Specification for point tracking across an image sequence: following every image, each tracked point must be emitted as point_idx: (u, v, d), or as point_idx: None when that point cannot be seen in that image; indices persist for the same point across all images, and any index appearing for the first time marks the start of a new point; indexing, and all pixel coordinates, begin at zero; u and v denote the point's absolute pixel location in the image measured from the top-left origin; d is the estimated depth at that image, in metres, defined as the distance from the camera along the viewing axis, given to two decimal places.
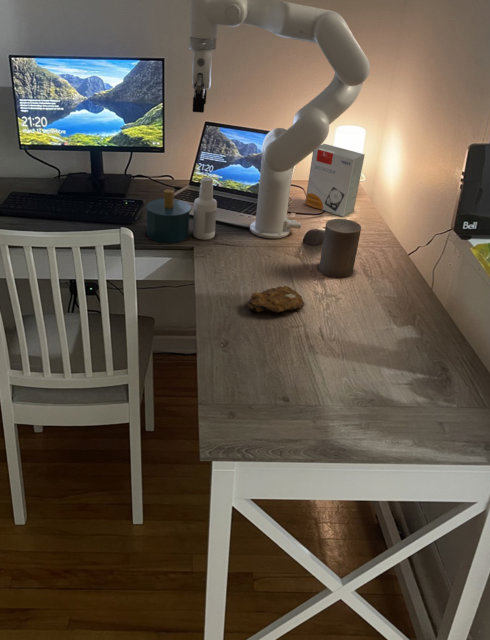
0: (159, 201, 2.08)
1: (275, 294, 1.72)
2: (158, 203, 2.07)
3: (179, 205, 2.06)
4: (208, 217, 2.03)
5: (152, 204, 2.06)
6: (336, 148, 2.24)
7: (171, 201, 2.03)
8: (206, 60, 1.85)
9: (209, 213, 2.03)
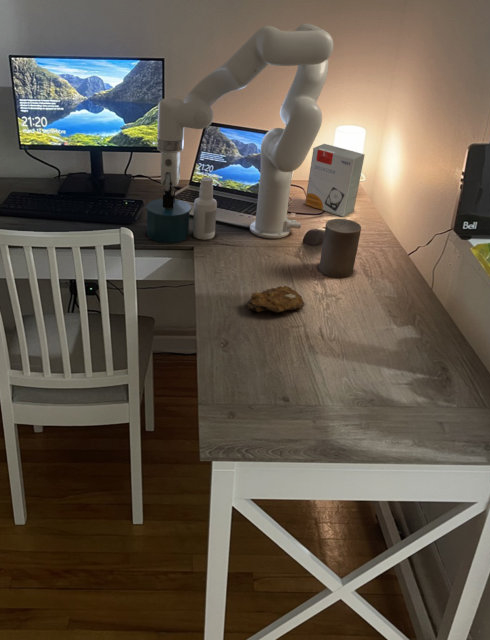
0: (159, 201, 2.08)
1: (275, 294, 1.72)
2: (158, 203, 2.07)
3: (179, 205, 2.06)
4: (208, 217, 2.03)
5: (152, 204, 2.06)
6: (336, 148, 2.24)
7: None
8: (174, 160, 1.92)
9: (209, 213, 2.03)
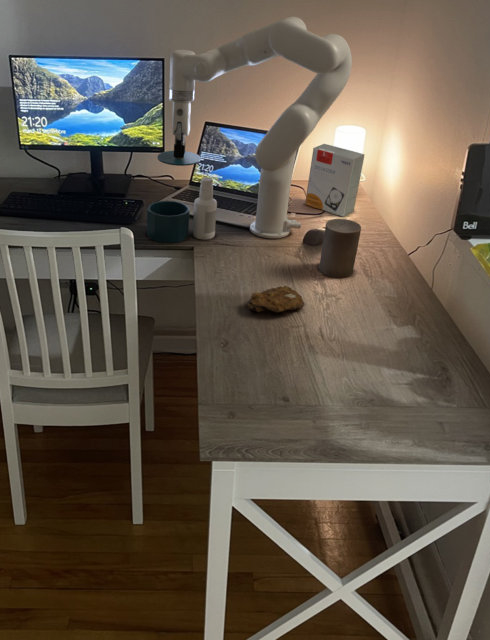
0: (170, 152, 2.17)
1: (275, 294, 1.72)
2: (169, 154, 2.16)
3: (189, 156, 2.15)
4: (208, 217, 2.03)
5: (163, 154, 2.15)
6: (336, 148, 2.24)
7: None
8: (185, 110, 2.01)
9: (209, 213, 2.03)
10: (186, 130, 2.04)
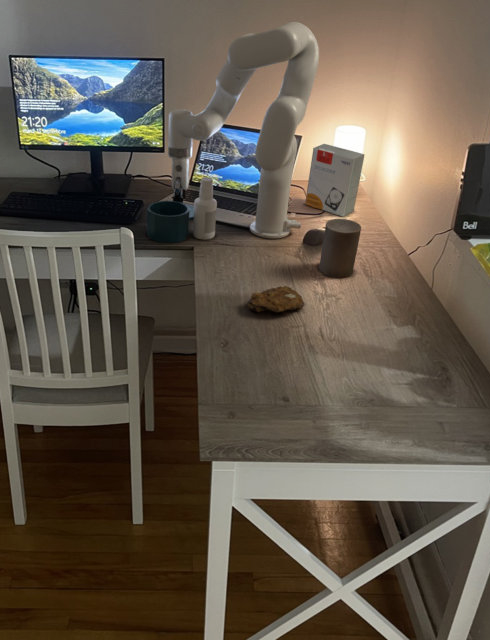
0: None
1: (275, 294, 1.72)
2: None
3: None
4: (207, 217, 2.03)
5: None
6: (336, 148, 2.24)
7: None
8: (183, 166, 2.10)
9: (209, 213, 2.03)
10: (185, 185, 2.13)
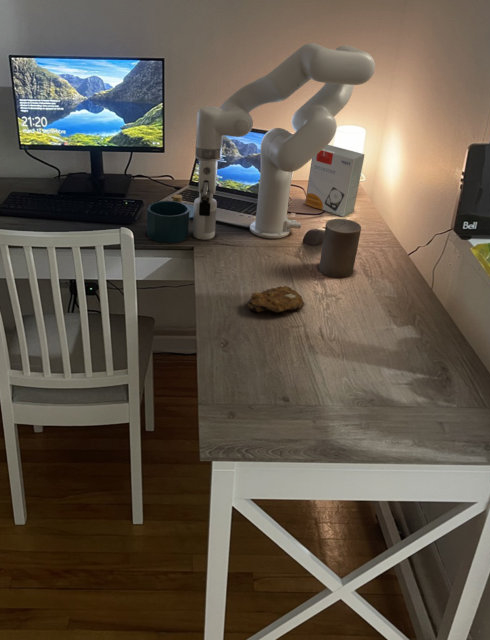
0: None
1: (275, 294, 1.72)
2: None
3: None
4: (207, 217, 2.03)
5: None
6: (336, 148, 2.24)
7: None
8: (212, 168, 1.94)
9: None
10: (213, 189, 1.96)
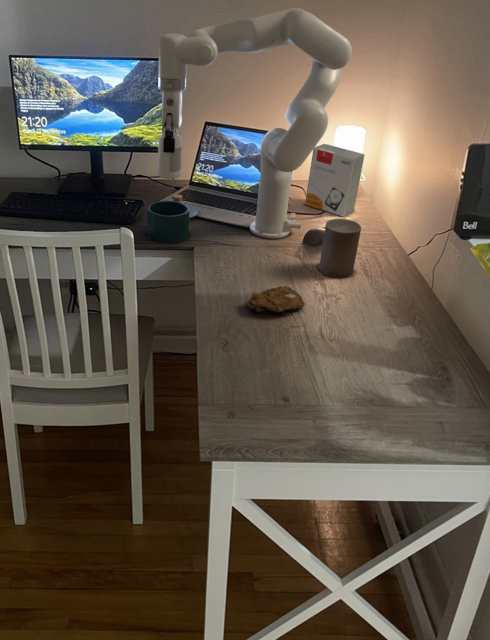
0: None
1: (275, 294, 1.72)
2: None
3: None
4: (172, 154, 1.93)
5: None
6: (336, 148, 2.24)
7: None
8: (176, 100, 1.83)
9: None
10: (177, 122, 1.86)
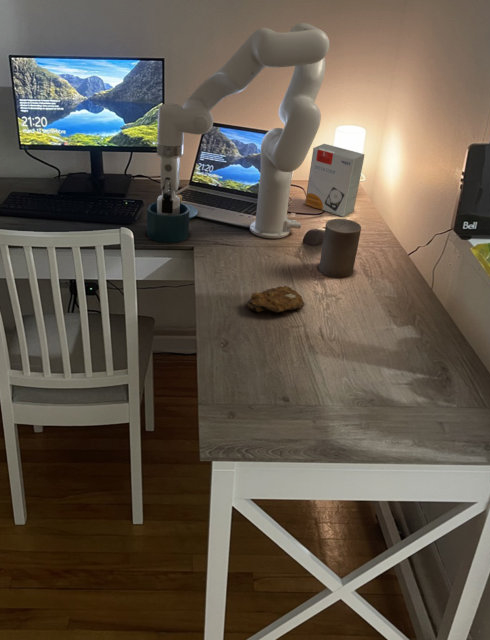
0: None
1: (275, 294, 1.72)
2: None
3: None
4: (170, 214, 2.03)
5: None
6: (336, 148, 2.24)
7: None
8: (173, 165, 1.93)
9: None
10: (175, 186, 1.96)
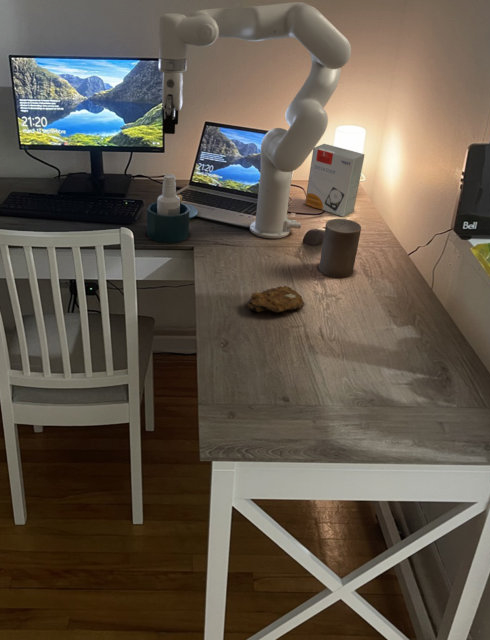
0: None
1: (275, 294, 1.72)
2: None
3: None
4: (171, 214, 2.03)
5: None
6: (336, 148, 2.24)
7: None
8: (176, 81, 1.81)
9: (172, 210, 2.02)
10: (178, 104, 1.84)
